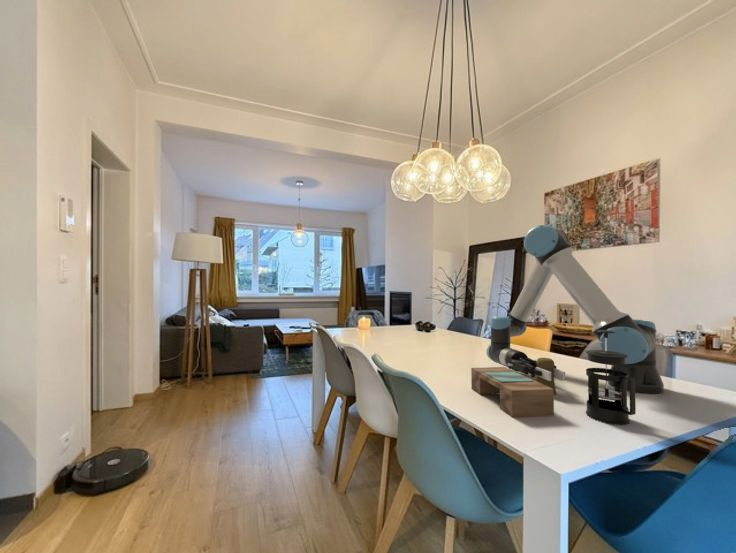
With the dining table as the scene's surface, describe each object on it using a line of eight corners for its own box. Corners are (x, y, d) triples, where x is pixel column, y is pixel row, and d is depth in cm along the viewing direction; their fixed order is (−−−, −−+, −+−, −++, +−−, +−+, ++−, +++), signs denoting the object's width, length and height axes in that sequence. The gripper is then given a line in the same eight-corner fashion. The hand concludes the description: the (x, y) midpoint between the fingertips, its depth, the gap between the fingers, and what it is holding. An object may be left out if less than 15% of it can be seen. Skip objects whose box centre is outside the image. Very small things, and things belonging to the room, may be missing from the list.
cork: (560, 394, 104) (559, 360, 104) (541, 394, 104) (540, 360, 104) (550, 389, 110) (549, 356, 110) (531, 388, 110) (531, 356, 110)
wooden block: (471, 388, 110) (471, 367, 110) (504, 387, 111) (504, 366, 111) (512, 417, 86) (511, 389, 86) (553, 415, 87) (553, 387, 88)
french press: (575, 412, 90) (574, 328, 90) (599, 408, 93) (597, 327, 94) (620, 430, 79) (619, 334, 79) (646, 424, 82) (644, 332, 82)
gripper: (534, 368, 126) (581, 387, 103) (493, 370, 124) (531, 389, 101) (534, 349, 126) (581, 363, 103) (493, 350, 124) (531, 364, 101)
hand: (557, 376), depth 102 cm, fingers closed on cork, 4 cm apart
